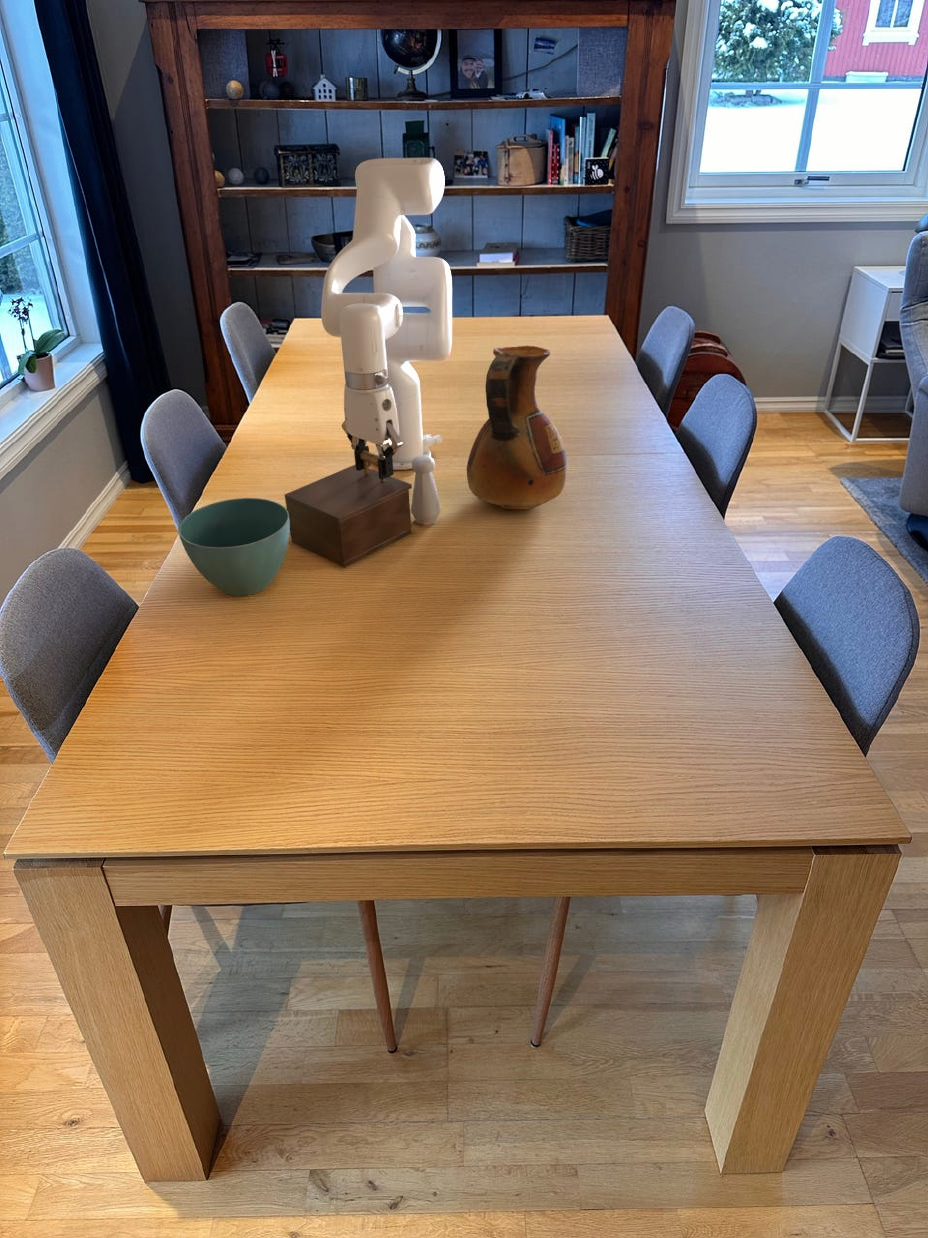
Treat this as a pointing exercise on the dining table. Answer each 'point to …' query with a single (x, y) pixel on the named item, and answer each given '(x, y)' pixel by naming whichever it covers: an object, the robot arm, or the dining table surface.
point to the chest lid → (348, 491)
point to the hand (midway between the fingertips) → (374, 471)
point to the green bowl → (237, 543)
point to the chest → (350, 530)
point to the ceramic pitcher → (516, 437)
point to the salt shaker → (424, 492)
